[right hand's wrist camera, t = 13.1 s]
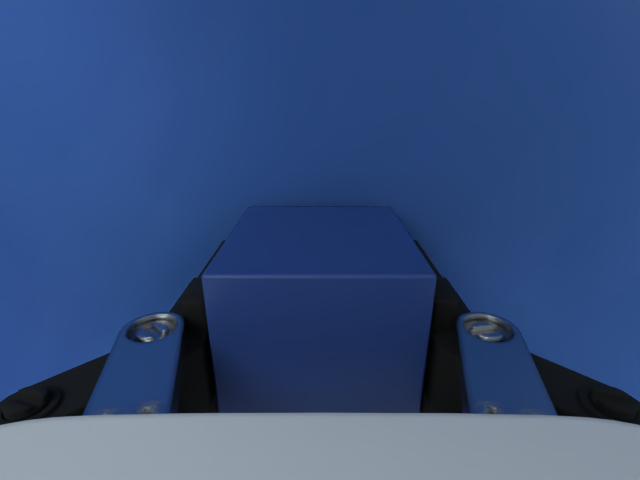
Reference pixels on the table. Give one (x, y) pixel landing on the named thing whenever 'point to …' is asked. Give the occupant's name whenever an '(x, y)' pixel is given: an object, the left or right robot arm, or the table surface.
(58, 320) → the table surface
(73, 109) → the table surface
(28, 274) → the table surface
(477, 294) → the table surface
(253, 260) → the brick
